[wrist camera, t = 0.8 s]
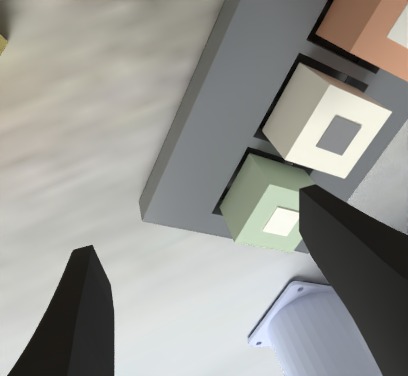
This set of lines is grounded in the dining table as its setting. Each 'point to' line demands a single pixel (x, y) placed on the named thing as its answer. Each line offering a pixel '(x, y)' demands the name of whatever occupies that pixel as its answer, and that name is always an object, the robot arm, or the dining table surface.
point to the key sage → (265, 204)
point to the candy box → (2, 43)
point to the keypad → (251, 112)
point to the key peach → (370, 32)
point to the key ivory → (323, 122)
